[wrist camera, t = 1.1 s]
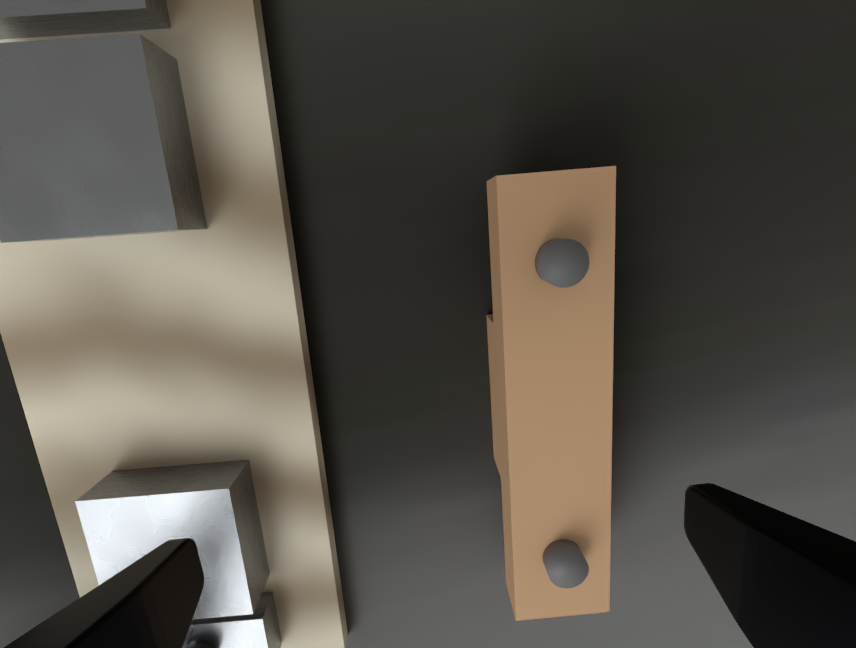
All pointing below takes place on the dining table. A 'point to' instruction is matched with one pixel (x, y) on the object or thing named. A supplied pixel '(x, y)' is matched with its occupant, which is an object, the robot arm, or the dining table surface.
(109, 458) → the board
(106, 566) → the lower chain end
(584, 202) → the master link
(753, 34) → the dining table surface
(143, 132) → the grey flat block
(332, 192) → the dining table surface
